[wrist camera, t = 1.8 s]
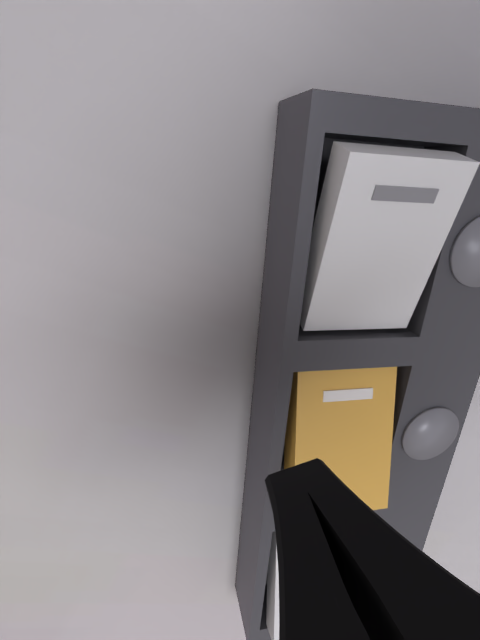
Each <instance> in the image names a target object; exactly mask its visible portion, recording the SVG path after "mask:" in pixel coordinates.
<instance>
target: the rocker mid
mask: <svg viewBox="0 0 480 640" xmlns="http://www.w3.org/2000/svg"><path fill="white" fill-rule="evenodd" d="M396 378H397V367H380V368H361V369H342V370H323V371H304V372H293V380H292V387H291V395H290V403H289V410H288V418H287V425H286V433H285V446H284V469H287V468H290V467H293V466H296V465H299V464H301V463H304V462H307V461H310V460H313V459H316V458H318V459H320V460H322V461H323V462H324V463H325V464H326V465H327V466H328V467H329V468H330V469H331V471H332V472H333V473H334V474H335V475H336V476H337V477H338V478H339V479H340V480H341V481H342V482H343V483H344V484H345V485H346V486H347V487H348V488H349V489H350V490H351V491H353V492H354V493H355V494H356V495H357V496H358V497H359V498H360V499H361V500H362V501H363V502H364V503H365V504H366V505H368V506H369V507H370V508H371V509H372V510H378V509H385V508H388V495H389V480H390V466H391V451H392V436H393V422H394V407H395V392H396Z"/></svg>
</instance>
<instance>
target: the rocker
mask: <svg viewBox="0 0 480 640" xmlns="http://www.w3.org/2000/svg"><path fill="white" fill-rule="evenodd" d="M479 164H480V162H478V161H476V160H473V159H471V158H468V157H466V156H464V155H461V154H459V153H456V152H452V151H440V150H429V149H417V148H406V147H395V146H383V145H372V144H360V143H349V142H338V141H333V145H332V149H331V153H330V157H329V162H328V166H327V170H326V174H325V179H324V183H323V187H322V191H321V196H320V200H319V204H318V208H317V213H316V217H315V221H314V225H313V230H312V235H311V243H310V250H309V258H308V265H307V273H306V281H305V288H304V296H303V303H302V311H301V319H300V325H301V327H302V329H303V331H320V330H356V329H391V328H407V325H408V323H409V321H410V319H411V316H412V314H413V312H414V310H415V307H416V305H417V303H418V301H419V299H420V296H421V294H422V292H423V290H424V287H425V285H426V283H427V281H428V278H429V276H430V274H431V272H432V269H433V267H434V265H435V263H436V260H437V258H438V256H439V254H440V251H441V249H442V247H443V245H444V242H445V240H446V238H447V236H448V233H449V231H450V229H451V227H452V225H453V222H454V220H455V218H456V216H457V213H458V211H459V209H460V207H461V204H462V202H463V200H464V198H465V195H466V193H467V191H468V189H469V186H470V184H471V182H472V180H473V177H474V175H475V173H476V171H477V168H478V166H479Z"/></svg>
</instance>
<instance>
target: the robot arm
mask: <svg viewBox="0 0 480 640" xmlns="http://www.w3.org/2000/svg"><path fill="white" fill-rule="evenodd" d="M265 484H266V488H267V492H268V496H269V499H270V503H271V507H272V511H273V517H274V524H275V532H276V544H277V557H278V573H279V640H480V594H479V593H478V592H476V591H475V590H473V589H472V588H470V587H469V586H468V585H466V584H465V583H463V582H462V581H461V580H459V579H458V578H457V577H455V576H454V575H452V574H451V573H450V572H448V571H447V570H446V569H444V568H443V567H442V566H440V565H439V564H438V563H436V562H435V561H434V560H433V559H431V558H430V557H429V556H427V555H426V554H425V553H424V552H422V551H421V550H420V549H418V548H417V547H416V546H415V545H413V544H412V543H411V542H410V541H408V540H407V539H406V538H405V537H404V536H402V535H401V534H400V533H399V532H398V531H396V530H395V529H394V528H393V527H392V526H391V525H389V524H388V523H387V522H386V521H385V520H384V519H382V518H381V517H380V516H379V515H378V514H377V513H375V512H374V511H373V510H372V509H371V508H370V507H369V506H368V505H366V504H365V503H364V502H363V501H362V500H361V499H360V498H359V497H358V496H357V495H356V494H355V493H354V492H353V491H351V490H350V489H349V488H348V487H347V486H346V485H345V484H344V483H343V482H342V481H341V480H340V479H339V478H338V477H337V476H336V475H335V474H334V473H333V472H332V471H331V469H330V468H329V467H328V466H327V465H326V464H325V463H324V462H323V461H322V460H320V459H318V458H316V459H313V460H310V461H307V462H304V463H301V464H299V465H296V466H293V467H290V468H287V469H284V470H281V471H278V472H275V473H272V474H269V475H268V476H267V477H266V479H265Z"/></svg>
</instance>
